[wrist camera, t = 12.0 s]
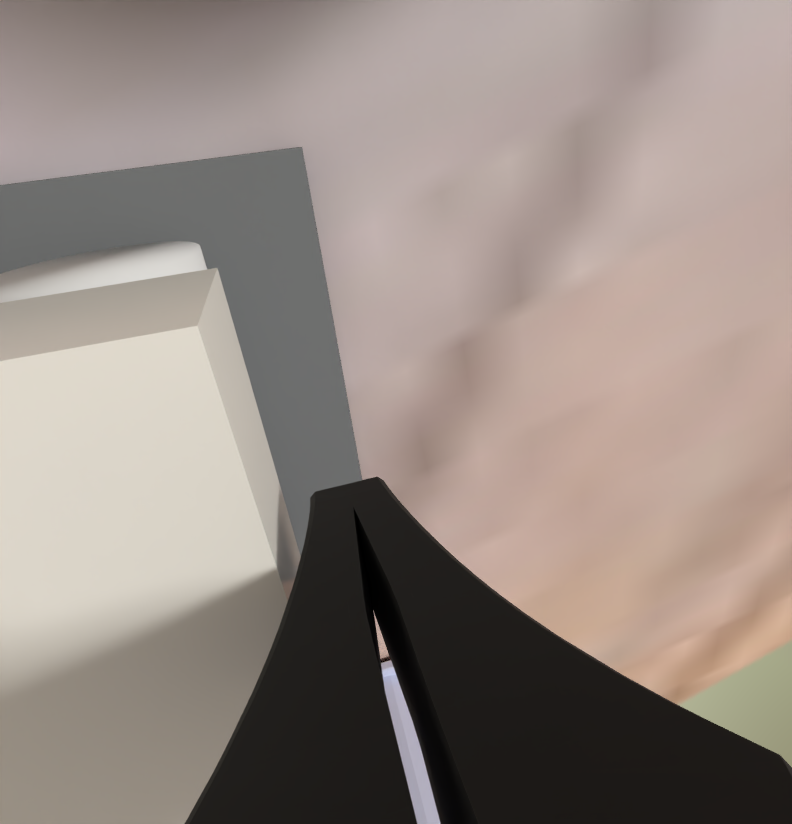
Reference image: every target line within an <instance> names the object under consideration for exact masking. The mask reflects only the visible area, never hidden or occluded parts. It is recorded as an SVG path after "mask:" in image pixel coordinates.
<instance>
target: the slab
mask: <svg viewBox="0 0 792 824" xmlns="http://www.w3.org/2000/svg"><path fill="white" fill-rule="evenodd" d="M300 558H301V556H300V553H299V549H298V546H297V542H296V539H295V535H294V532H293V528H292V525H291V522H290V518H289V515H288V511H287V508H286V504H285V501H284V497H283V494H282V490H281V487H280V483H279V480H278V476H277V473H276V470H275V466H274V463H273V459H272V456H271V452H270V449H269V445H268V442H267V438H266V435H265V431H264V428H263V424H262V421H261V417H260V414H259V411H258V407H257V404H256V400H255V397H254V393H253V390H252V386H251V383H250V379H249V376H248V372H247V369H246V365H245V362H244V358H243V355H242V352H241V348H240V345H239V341H238V338H237V334H236V331H235V327H234V324H233V320H232V317H231V313H230V310H229V306H228V303H227V300H226V296H225V293H224V289H223V286H222V282H221V279H220V275H219V272H218V268H213V269H207V270H200V271H194V272H188V273H182V274H176V275H170V276H163V277H157V278H151V279H145V280H139V281H133V282H127V283H120V284H114V285H108V286H102V287H96V288H90V289H83V290H77V291H71V292H65V293H59V294H53V295H47V296H40V297H34V298H28V299H22V300H16V301H10V302H3V303H0V824H185V822H186V820H187V818H188V817H189V815H190V813H191V811H192V809H193V808H194V806H195V804H196V802H197V801H198V799H199V797H200V795H201V793H202V792H203V790H204V788H205V786H206V784H207V783H208V781H209V779H210V777H211V775H212V774H213V772H214V770H215V768H216V766H217V764H218V762H219V760H220V758H221V756H222V754H223V752H224V750H225V748H226V746H227V744H228V742H229V740H230V738H231V736H232V734H233V732H234V730H235V728H236V726H237V724H238V721H239V719H240V717H241V715H242V713H243V711H244V709H245V707H246V705H247V703H248V700H249V698H250V696H251V694H252V692H253V690H254V687H255V685H256V683H257V680H258V678H259V676H260V673H261V671H262V669H263V666H264V664H265V662H266V659H267V657H268V654H269V652H270V649H271V647H272V644H273V642H274V639H275V636H276V634H277V631H278V628H279V626H280V623H281V620H282V617H283V614H284V611H285V608H286V605H287V602H288V599H289V596H290V593H291V590H292V587H293V584H294V580H295V577H296V573H297V569H298V565H299V562H300Z"/></svg>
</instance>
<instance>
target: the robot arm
mask: <svg viewBox="0 0 792 824" xmlns="http://www.w3.org/2000/svg"><path fill="white" fill-rule="evenodd" d="M373 610H374V612H373ZM374 613H375V616H376V619H377V621H378V624H379V627H380V630H381V633H382V636H383V639H384V642H385V644H386V647H387V650H388V653H389V656H390V659H391V660H389V661H386V662H383V663H381V660H380V653H379V646H378V640H377V633H376V626H375V619H374ZM185 824H792V767H791V766H790V765H789V764H788V763H787V762H786V761H785V760H784V759H783V758H782V757H781V756H780V755H779V754H777V753H774V752H772V751H770V750H768V749H766V748H764V747H762V746H760V745H758V744H756V743H754V742H752V741H750V740H747V739H745V738H743V737H741V736H739V735H737V734H735V733H733V732H731V731H729V730H727V729H725V728H723V727H720V726H718V725H716V724H714V723H712V722H710V721H708V720H706V719H704V718H702V717H700V716H698V715H696V714H694V713H692V712H690V711H688V710H686V709H684V708H682V707H680V706H678V705H676V704H675V703H673V702H671V701H669V700H667V699H665V698H663V697H662V696H660V695H658V694H656V693H654V692H653V691H651V690H649V689H647V688H645V687H643V686H642V685H640V684H638V683H636V682H634V681H632V680H631V679H629V678H627V677H625V676H623V675H622V674H620V673H618V672H617V671H615V670H613V669H612V668H610V667H608V666H607V665H605V664H603V663H602V662H600V661H599V660H597V659H595V658H594V657H592V656H590V655H589V654H587V653H585V652H584V651H582V650H580V649H579V648H577V647H576V646H574V645H572V644H571V643H569V642H567V641H566V640H564V639H562V638H561V637H559V636H558V635H556V634H554V633H553V632H551V631H550V630H549V629H547V628H546V627H544V626H543V625H541V624H540V623H538V622H537V621H535V620H534V619H533V618H531V617H530V616H528V615H527V614H525V613H524V612H522V611H521V610H520V609H518V608H517V607H516V606H514V605H513V604H512V603H510V602H509V601H507V600H506V599H505V598H503V597H502V596H501V595H499V594H498V593H497V592H496V591H494V590H493V589H492V588H490V587H489V586H488V585H487V584H485V583H484V582H483V581H482V580H481V579H479V578H478V577H477V576H476V575H474V574H473V573H472V572H471V571H470V570H469V569H468V568H466V567H465V566H464V565H463V564H462V563H461V562H459V561H458V560H457V559H456V558H455V557H454V556H453V555H452V554H450V553H449V552H448V551H447V550H446V549H445V548H444V547H443V546H442V545H441V544H440V543H439V542H438V541H437V540H436V539H435V538H434V537H433V536H432V535H431V534H430V533H429V532H428V531H427V530H425V529H424V528H423V527H422V526H421V524H420V523H419V522H418V521H417V520H416V519H415V518H414V517H413V516H412V515H411V514H410V513H409V512H408V510H407V509H406V508H405V507H404V506H403V505H402V504H401V503H400V501H399V500H398V499H397V498H396V497H395V495H394V494H393V493H392V492H391V490H390V489H389V488H388V486H387V485H386V484H385V482H384V481H383V480H382V479H380V478H379V477H374V478H370V479H366V480H362V481H357V482H353V483H349V484H345V485H341V486H336V487H332V488H328V489H324V490H320V491H315V492H314V494H313V495H312V496H311V497H310V512H309V520H308V526H307V532H306V537H305V542H304V546H303V550H302V554H301V558H300V562H299V565H298V569H297V573H296V577H295V580H294V584H293V587H292V590H291V593H290V596H289V599H288V602H287V605H286V608H285V611H284V614H283V617H282V620H281V623H280V626H279V628H278V631H277V634H276V636H275V639H274V642H273V644H272V647H271V649H270V652H269V654H268V657H267V659H266V662H265V664H264V666H263V669H262V671H261V673H260V676H259V678H258V680H257V683H256V685H255V687H254V690H253V692H252V694H251V696H250V698H249V700H248V703H247V705H246V707H245V709H244V711H243V713H242V715H241V717H240V719H239V721H238V724H237V726H236V728H235V730H234V732H233V734H232V736H231V738H230V740H229V742H228V744H227V746H226V748H225V750H224V752H223V754H222V756H221V758H220V760H219V762H218V764H217V766H216V768H215V770H214V772H213V774H212V775H211V777H210V779H209V781H208V783H207V784H206V786H205V788H204V790H203V792H202V793H201V795H200V797H199V799H198V801H197V802H196V804H195V806H194V808H193V809H192V811H191V813H190V815H189V817H188V818H187V820H186V822H185Z"/></svg>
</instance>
